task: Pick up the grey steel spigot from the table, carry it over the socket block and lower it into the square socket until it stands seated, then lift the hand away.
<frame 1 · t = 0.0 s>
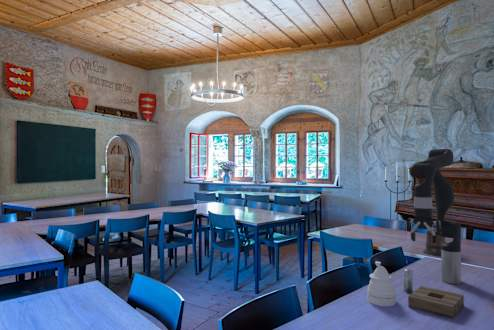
hand: (423, 242, 157), 29 cm above the table, tool pointing down, fingers open, 8 cm apart
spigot: (408, 291, 176), on the table
socket block: (436, 306, 156), on the table
tankard: (438, 253, 251), on the table
honey pot: (381, 301, 164), on the table
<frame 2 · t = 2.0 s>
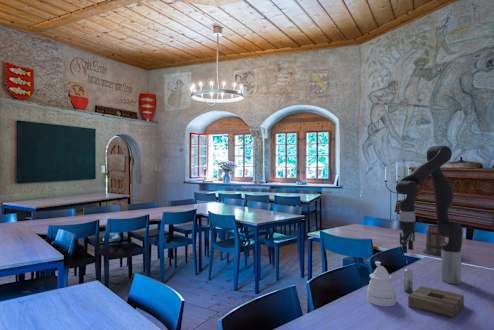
hand: (407, 251, 176), 20 cm above the table, tool pointing down, fingers open, 8 cm apart
nothing on the table moved.
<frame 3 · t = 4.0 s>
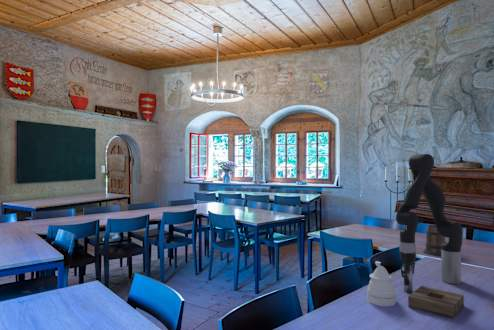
hand: (408, 284, 176), 4 cm above the table, tool pointing down, fingers closed on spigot, 4 cm apart
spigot: (408, 291, 176), on the table, touching gripper
everything else where it was.
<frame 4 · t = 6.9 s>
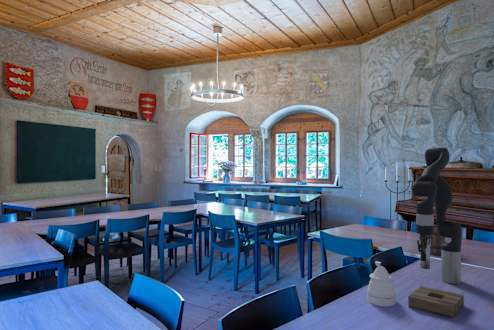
hand: (425, 259, 162), 20 cm above the table, tool pointing down, fingers closed on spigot, 4 cm apart
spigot: (425, 267, 162), point 16 cm above the table, touching gripper
everything else where it was.
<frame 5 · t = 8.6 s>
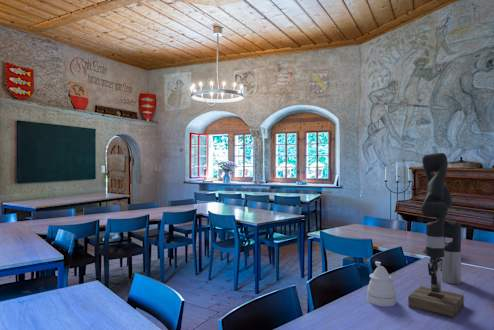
hand: (435, 282, 157), 11 cm above the table, tool pointing down, fingers closed on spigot, 4 cm apart
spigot: (435, 291, 157), point 7 cm above the table, touching gripper
everything else where it was.
when the fingers open (6 cm above the table, at t = 9.8 s): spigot drops 1 cm, resting on socket block.
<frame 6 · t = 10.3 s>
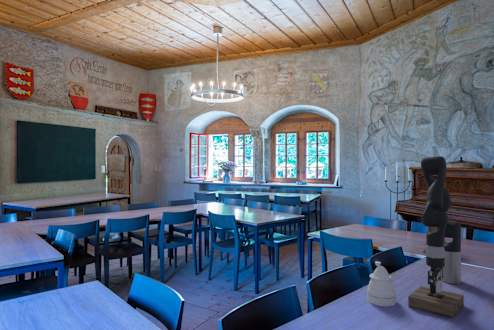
hand: (435, 290, 156), 7 cm above the table, tool pointing down, fingers open, 8 cm apart
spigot: (436, 304, 157), point 1 cm above the table, touching socket block
everything else where it was.
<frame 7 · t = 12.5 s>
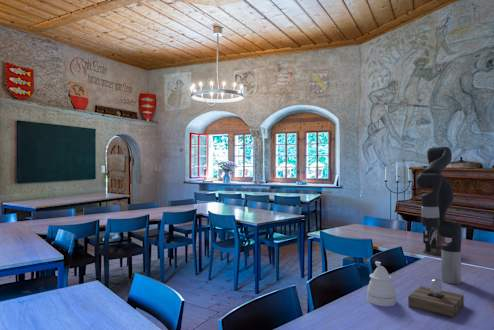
hand: (431, 250, 161), 25 cm above the table, tool pointing down, fingers open, 8 cm apart
nothing on the table moved.
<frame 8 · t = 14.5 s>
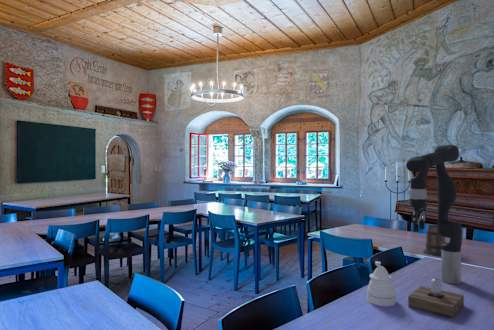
hand: (419, 230, 171), 32 cm above the table, tool pointing down, fingers open, 8 cm apart
nothing on the table moved.
at the end: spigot 0.1 cm off-centre on the socket block, point 1.0 cm above the socket block's base; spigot tilted 1°; the gripper is holding nothing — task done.
